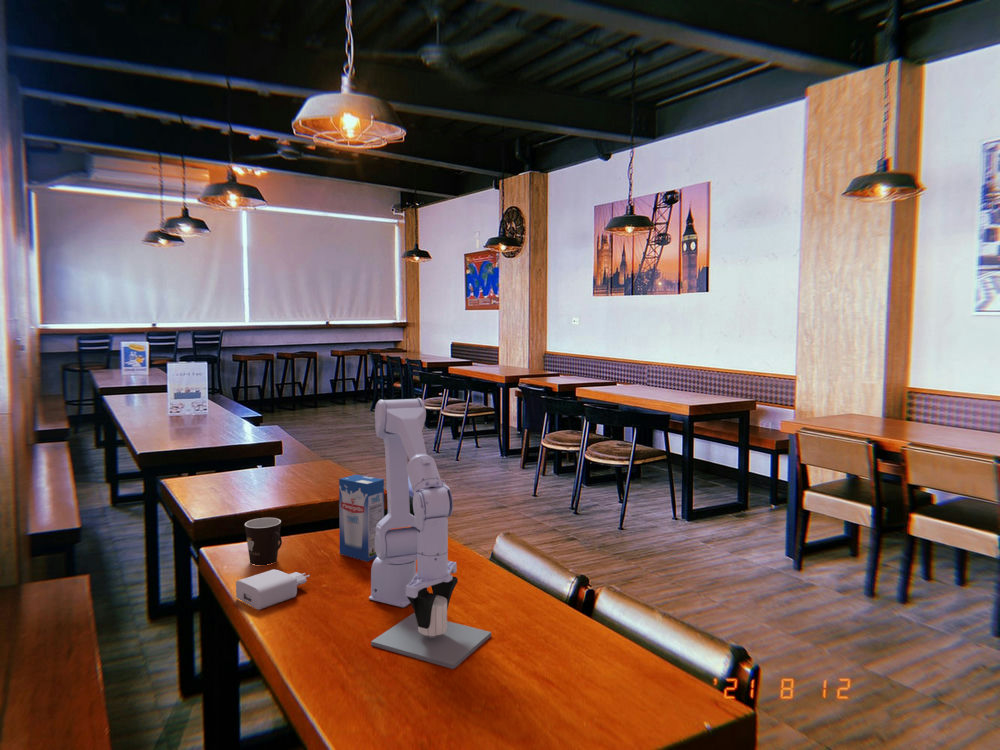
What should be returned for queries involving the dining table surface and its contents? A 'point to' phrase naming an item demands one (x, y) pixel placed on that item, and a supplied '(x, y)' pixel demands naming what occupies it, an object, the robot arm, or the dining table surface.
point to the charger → (269, 588)
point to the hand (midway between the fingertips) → (432, 620)
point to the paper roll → (437, 618)
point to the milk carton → (360, 515)
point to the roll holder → (432, 642)
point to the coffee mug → (263, 540)
